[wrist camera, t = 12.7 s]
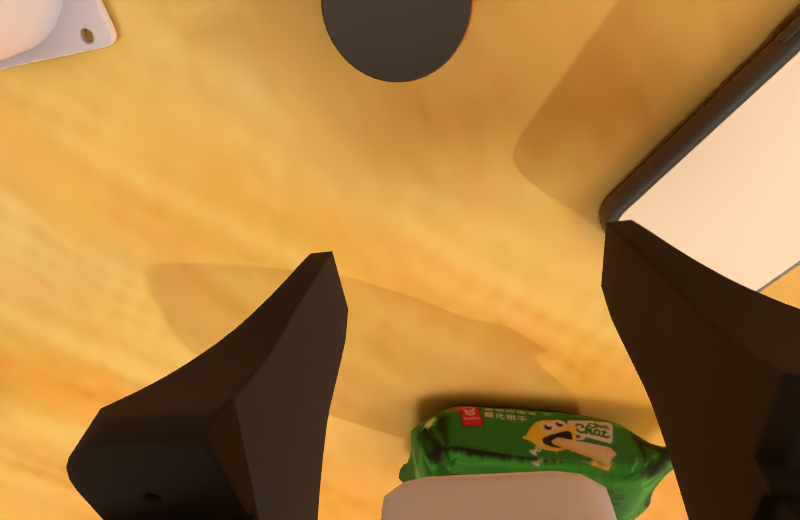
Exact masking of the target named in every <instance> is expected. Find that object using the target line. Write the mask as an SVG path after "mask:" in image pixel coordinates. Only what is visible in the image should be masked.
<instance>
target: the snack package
mask: <svg viewBox="0 0 800 520" xmlns="http://www.w3.org/2000/svg"><path fill="white" fill-rule="evenodd" d="M671 470H673V466H672V463H671V460H670V457H669V453H668V450H667V447H662V446H657V445H654V444H651V443H649V442H647V441H645V440H643V439H642V438H640V437H639V436H637V435H635V434H634V433H632V432H631V431H629V430H628V429H626V428H625V427H623V426H621V425H619V424H616V423H613V422H609V421H606V420H603V419H598V418H592V417H586V416H581V415H574V414H568V413H560V412H544V411H533V410H523V409H511V408H486V407H475V406H456V407H451V408H448V409H445V410H443V411H441V412H440V413H438V414H436V415H435V416H433V417H432V418H430V419H428V420H426V421H424V422H422V423H420V424H419V425H418V426H416V427H415V428H414V429H413V430H412V431H411V453H410V458H409V461H408V463H407V464H405V465H403V467H402V468H401V470H400V473H399V479H400V480H401V481H402V482H403V483H404V482H406V481H411V480H416V479H420V478H425V477H435V476H456V475H478V474H499V473H520V472H541V471H559V472H569V473H578V474H582V475H584V476H586V477H588V478H590V479H592V480H593V481H595V482H597V483H599V484H601V485H603V486H604V487H606V489H607V492H608V494H609V497H610V500H611V502H612V506H613V509H614V512H615V515H616V519H617V520H634V519H635V518H637V517H638V516H639V515H640V514H642V513H643V512H644V511H645V510H646V509H647V508H648V506H649V504H650V500H651V495H652V493H653V490H654V489H655V487H656V486H657V485H658V484H659V482H660V481H661V480H662V479H663V478H664V476H665V475H666V474H668V473H669V472H670V471H671Z"/></svg>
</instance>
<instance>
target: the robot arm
mask: <svg viewBox="0 0 800 520" xmlns="http://www.w3.org/2000/svg"><path fill="white" fill-rule="evenodd" d="M85 29H88V30H89V31H91V33H92V34H93V37H94V40H93V41H92V40H90V39H88V37H87V36H86V34H85ZM116 37H117V34H116V30H115V28H114V25H113V23H112V21H111V19H110V17H109V15H108V13H107V10H106V8H105V6H104V4H103V2H102V0H0V69H4V68H9V67H14V66H18V65H23V64H28V63H33V62H37V61H42V60H47V59H52V58H56V57H61V56H66V55H71V54H75V53H80V52H85V51H90V50H94V49H99V48H104V47H107V46H109V45H111V44H113V43H114V42H115V41H116ZM601 287H602V290H603V293H604V297H605V300H606V303H607V307H608V310H609V313H610V316H611V319H612V321H613V323H614V325H615V327H616V329H617V331H618V334H619V336H620V338H621V340H622V342H623V344H624V346H625V348H626V350H627V352H628V354H629V356H630V358H631V361H632V363H633V365H634V367H635V369H636V371H637V373H638V375H639V377H640V379H641V381H642V383H643V385H644V387H645V390H646V392H647V394H648V397H649V399H650V401H651V404H652V407H653V409H654V412H655V415H656V418H657V421H658V424H659V427H660V429H661V432H662V435H663V438H664V441H665V444H666V447H667V450H668V453H669V457H670V460H671V463H672V466H673V469H674V472H675V475H676V478H677V482H678V485H679V488H680V492H681V495H682V498H683V502H684V505H685V508H686V512H687V515H688V518H689V520H800V309H798V308H795V307H793V306H790V305H787V304H785V303H782V302H780V301H777V300H775V299H772V298H770V297H767V296H765V295H763V294H761V293H758V292H756V291H754V290H752V289H750V288H747V287H745V286H743V285H741V284H739V283H737V282H735V281H733V280H731V279H729V278H727V277H725V276H723V275H721V274H719V273H718V272H716V271H714V270H712V269H710V268H708V267H706V266H705V265H703V264H701V263H700V262H698V261H696V260H694V259H693V258H691V257H689V256H688V255H686V254H685V253H683V252H681V251H680V250H678V249H677V248H675V247H673V246H672V245H670V244H669V243H667V242H666V241H664V240H663V239H661V238H660V237H658V236H657V235H655V234H654V233H652V232H650V231H649V230H647V229H646V228H644V227H643V226H641V225H640V224H638V223H636V222H635V221H633V220H624V221H615V222H606V234H605V246H604V259H603V271H602V283H601ZM347 316H348V307H347V303H346V300H345V296H344V293H343V289H342V285H341V282H340V278H339V275H338V271H337V267H336V264H335V260H334V256H333V253H332V251H331V252H321V253H312V254H310V255H309V256H308V257H307V258H306V259H305V260H304V261H303V262H302V263H301V264H300V265H299V266H298V267H297V268H296V270H295V271H294V272H293V273H292V274H291V275H290V276H289V277H288V278H287V279H286V280H285V281H284V283H283V284H282V285H281V286H280V287H279V288H278V289H277V290H276V291H275V292H274V293H273V294H272V295H271V296H270V297H269V298H268V299H267V300H266V301H265V302H264V303H263V304H262V305H261V306H260V307H259V308H258V309H257V310H256V311H255V312H254V313H253V314H252V315H250V316H249V317H248V318H247V319H246V320H245V321H244V322H243V323H242V324H240V325H239V326H238V327H237V328H236V329H235V330H233V331H232V332H231V333H229V334H228V335H227V336H226V337H224V338H223V339H222V340H221V341H219V342H218V343H217V344H215V345H214V346H212V347H211V348H209V349H208V350H206V351H205V352H204V353H202V354H201V355H199V356H198V357H196V358H195V359H193V360H192V361H190V362H189V363H187V364H186V365H184V366H182V367H181V368H179V369H177V370H176V371H174V372H172V373H171V374H169V375H167V376H166V377H164V378H162V379H160V380H158V381H156V382H155V383H153V384H151V385H149V386H147V387H145V388H143V389H141V390H139V391H137V392H135V393H133V394H131V395H129V396H127V397H125V398H123V399H120V400H118V401H116V402H114V403H112V404H110V405H108V406H105V407H103V408H101V409H100V411H99V412H98V414H97V415H96V417H95V418H94V420H93V421H92V423H91V424H90V426H89V427H88V429H87V431H86V432H85V434H84V435H83V437H82V438H81V440H80V441H79V443H78V444H77V446H76V448H75V449H74V451H73V452H72V454H71V455H70V457H69V459H68V463H67V466H66V467H67V472H68V476H69V479H70V481H71V482H72V484H73V485H74V487H75V488H76V490H77V491H78V492H79V493H80V494H81V495H82V496H83V498H84V499H85V500H86V501H87V502H88V503H89V504H90V505H91V506H92V508H93V509H94V510H95V511H96V512H97V513H98V514H99V515H100V517H101V518H102V519H103V520H317V519H318V506H319V493H320V482H321V472H322V461H323V452H324V443H325V435H326V427H327V420H328V415H329V409H330V405H331V400H332V396H333V392H334V388H335V383H336V379H337V375H338V371H339V366H340V362H341V358H342V353H343V349H344V344H345V339H346V329H347ZM381 520H617V519H616V515H615V512H614V509H613V506H612V502H611V500H610V497H609V494H608V492H607V489H606V487H604V486H603V485H601V484H599V483H597V482H595V481H593V480H592V479H590V478H588V477H586V476H584V475H582V474H578V473H569V472H559V471H541V472H520V473H499V474H478V475H456V476H435V477H425V478H420V479H416V480H411V481H406V482H404V483H402V484H401V485H399V486H398V487H397V488H395V489H394V490H393V491H391V492H390V493H388V494H387V495H386V496H384V501H383V507H382V516H381Z"/></svg>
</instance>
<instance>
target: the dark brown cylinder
mask: <svg viewBox="0 0 800 520" xmlns="http://www.w3.org/2000/svg"><path fill="white" fill-rule="evenodd" d="M321 8H322V14H323V20H324V23H325V26H326V29H327V32H328V34H329V36H330V38H331V40H332V42H333V44H334V45H335V47H336V49H337V50H338V51H339V53H340V54H341V55H342V56H343V58H344V59H345V60H346V61H347V62H348V63H349V64H351V65H352V66H353V67H354V68H356V69H357V70H359V71H360V72H362V73H364V74H365V75H368V76H370V77H372V78H375V79H378V80H382V81H387V82H408V81H413V80H417V79H420V78H423V77H425V76H428V75H429V74H431V73H433V72H435V71H436V70H438V69H439V68H440V67H442V66H443V65H444V64H445V63H446V62H447V61H448V60H449V59H450V58H451V57H452V56H453V55H454V53H455V52H456V51H457V50H458V48H459V47H460V45H461V44H462V42H463V40H464V38H465V36H466V34H467V32H468V29H469V26H470V23H471V20H472V15H473V10H474V0H321Z"/></svg>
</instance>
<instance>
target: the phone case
mask: <svg viewBox="0 0 800 520" xmlns="http://www.w3.org/2000/svg"><path fill="white" fill-rule="evenodd" d="M599 217H600V223H601V226H602V228H603V230H604V232H605V234H606V222H615V221H624V220H633V221H635V222H636V223H638V224H640V225H641V226H643V227H644V228H646V229H647V230H649V231H650V232H652V233H654V234H655V235H657V236H658V237H660V238H661V239H663V240H664V241H666V242H667V243H669V244H670V245H672V246H673V247H675V248H677V249H678V250H680V251H681V252H683V253H685V254H686V255H688V256H689V257H691V258H693V259H694V260H696V261H698V262H700V263H701V264H703V265H705V266H706V267H708V268H710V269H712V270H714V271H716V272H718V273H719V274H721V275H723V276H725V277H727V278H729V279H731V280H733V281H735V282H737V283H739V284H741V285H743V286H745V287H747V288H750V289H752V290H754V291H756V292H758V293H759V292H760V291H762V290H763V289H765V288H766V287H767V286H769V285H770V284H772V283H773V282H775V281H776V280H778V279H779V278H780V277H782V276H783V275H785V274H786V273H788V272H789V271H791V270H792V269H794V268H795V267H796V266H798V265H799V264H800V15H798V16H797V17H796V18H795V19H794V20H793V21H792V22H791V23H790V24H789V25H788V26H787V27H786V28H785V29H784V30H783V31H782V32H781V33H780V34H779V35H778V36H776V37H775V38H774V39H773V40H772V41H771V42H770V43H769V44H768V45H767V46H766V47H765V48H764V49H763V50H762V51H761V52H760V53H759V54H758V55H757V56H756V57H755V58H753V59H752V60H751V61H750V62H749V63H748V64H747V65H746V66H745V67H744V68H743V69H742V70H741V71H740V72H739V73H738V74H737V75H736V76H735V77H734V78H733V79H732V80H730V81H729V82H728V83H727V84H726V85H725V86H724V87H723V88H722V89H721V90H720V91H719V92H718V93H717V94H716V95H715V96H714V97H713V98H712V99H711V100H710V101H709V102H707V103H706V104H705V105H704V106H703V107H702V108H701V109H700V110H699V111H698V112H697V113H696V114H695V115H694V116H693V117H692V118H691V119H690V120H689V121H688V122H687V123H686V124H684V125H683V126H682V127H681V128H680V129H679V130H678V131H677V132H676V133H675V134H674V135H673V136H672V137H671V138H670V139H669V140H668V141H667V142H666V143H665V144H664V145H662V146H661V147H660V148H659V149H658V150H657V151H656V152H655V153H654V154H653V155H652V156H651V157H650V158H649V159H648V160H647V161H646V162H645V163H644V164H643V165H642V166H641V167H639V168H638V169H637V170H636V171H635V172H634V173H633V174H632V175H631V176H630V177H629V178H628V179H627V180H626V181H625V182H624V183H623V184H622V185H621V186H620V187H619V188H618V189H616V190H615V191H614V192H613V193H612V194H611V195H610V196H609V197H608V198H607V199H606V201H605V202H604V204H603V205H602V207H601V210H600V215H599Z"/></svg>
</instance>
